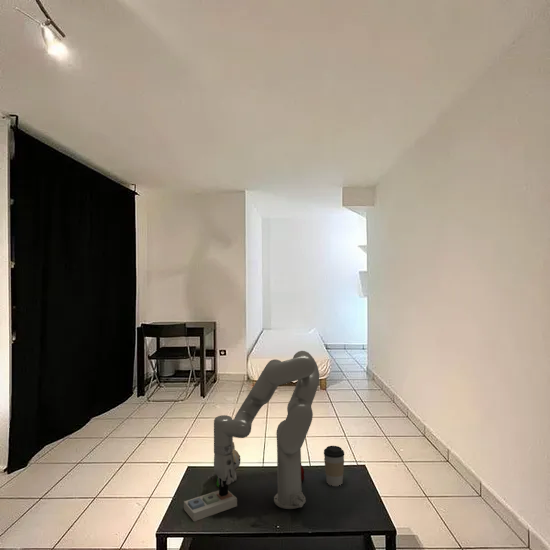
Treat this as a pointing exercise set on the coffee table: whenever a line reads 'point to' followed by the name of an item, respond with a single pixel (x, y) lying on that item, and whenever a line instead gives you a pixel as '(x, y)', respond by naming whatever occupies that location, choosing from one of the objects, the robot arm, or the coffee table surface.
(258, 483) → the coffee table surface
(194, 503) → the slate blue key
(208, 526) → the coffee table surface
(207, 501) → the sage key
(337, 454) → the coffee cup
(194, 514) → the keypad
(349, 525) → the coffee table surface
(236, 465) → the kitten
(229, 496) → the terracotta key
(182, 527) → the coffee table surface
